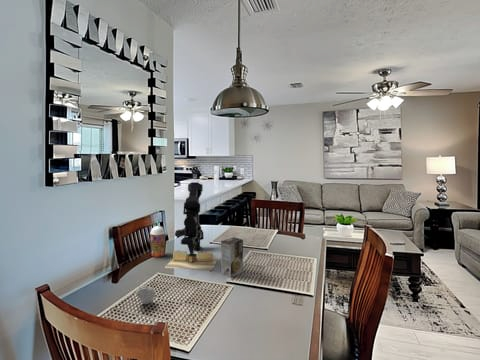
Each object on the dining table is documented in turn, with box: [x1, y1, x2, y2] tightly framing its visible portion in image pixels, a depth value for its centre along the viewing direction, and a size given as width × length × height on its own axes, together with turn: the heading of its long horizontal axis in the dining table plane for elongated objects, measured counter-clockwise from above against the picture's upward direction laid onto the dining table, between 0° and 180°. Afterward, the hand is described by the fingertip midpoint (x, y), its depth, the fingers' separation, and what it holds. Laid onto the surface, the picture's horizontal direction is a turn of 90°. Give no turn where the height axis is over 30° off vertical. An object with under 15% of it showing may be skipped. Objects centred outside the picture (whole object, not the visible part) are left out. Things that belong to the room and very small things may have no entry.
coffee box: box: [220, 236, 244, 278], centre depth 137 cm, size 9×6×16 cm
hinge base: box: [172, 250, 198, 263], centre depth 152 cm, size 5×13×5 cm, turn 84°
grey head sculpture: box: [135, 285, 156, 305], centre depth 108 cm, size 6×7×7 cm
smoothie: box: [149, 220, 166, 258], centre depth 160 cm, size 8×8×20 cm
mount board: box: [164, 257, 219, 272], centre depth 149 cm, size 16×24×1 cm, turn 84°
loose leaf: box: [197, 251, 214, 262], centre depth 151 cm, size 2×8×4 cm, turn 85°
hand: (191, 253), depth 152 cm, fingers closed
